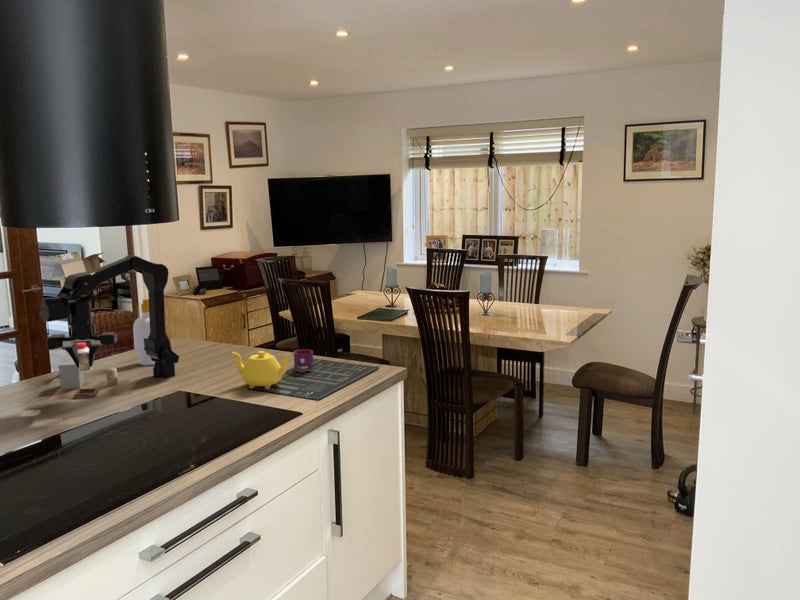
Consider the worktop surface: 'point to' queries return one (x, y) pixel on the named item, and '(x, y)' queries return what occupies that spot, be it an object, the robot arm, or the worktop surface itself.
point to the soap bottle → (142, 334)
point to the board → (96, 390)
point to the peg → (111, 377)
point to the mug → (303, 360)
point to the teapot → (261, 369)
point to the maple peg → (84, 361)
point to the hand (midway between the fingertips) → (84, 367)
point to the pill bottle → (80, 348)
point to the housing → (70, 375)
